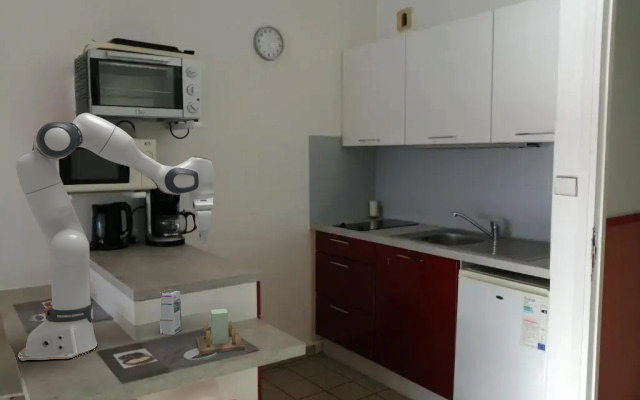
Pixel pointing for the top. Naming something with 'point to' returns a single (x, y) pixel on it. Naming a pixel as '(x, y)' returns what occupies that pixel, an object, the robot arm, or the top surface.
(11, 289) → the top surface
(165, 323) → the syrup box
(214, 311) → the green block
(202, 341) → the standoff base
